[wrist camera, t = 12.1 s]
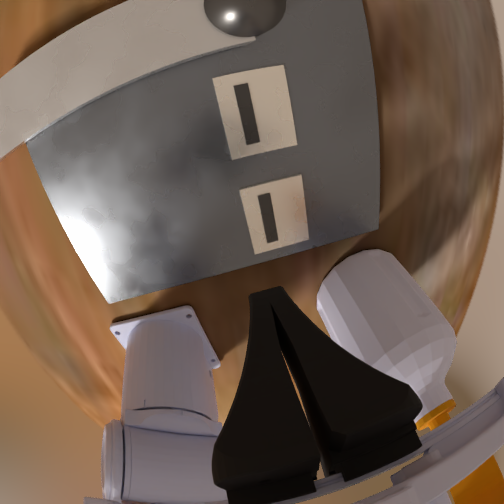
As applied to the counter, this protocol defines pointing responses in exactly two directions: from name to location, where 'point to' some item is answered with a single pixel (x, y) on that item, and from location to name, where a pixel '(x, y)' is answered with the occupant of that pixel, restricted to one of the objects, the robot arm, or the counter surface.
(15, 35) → the counter surface
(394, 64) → the counter surface
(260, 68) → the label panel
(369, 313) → the soap bottle
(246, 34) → the white long bar
